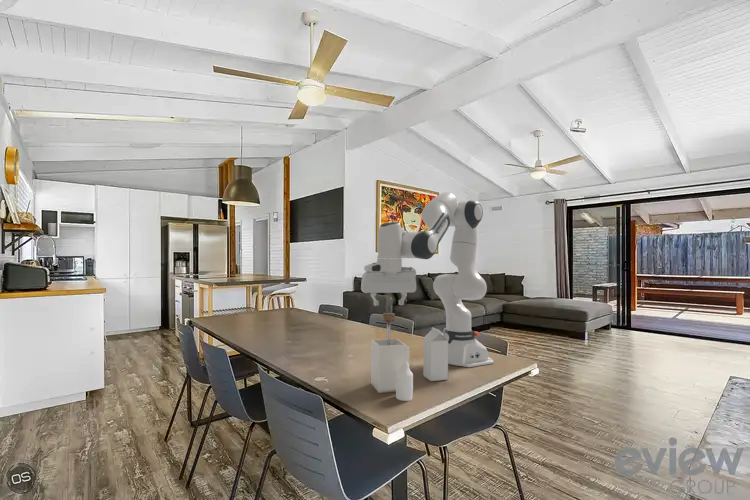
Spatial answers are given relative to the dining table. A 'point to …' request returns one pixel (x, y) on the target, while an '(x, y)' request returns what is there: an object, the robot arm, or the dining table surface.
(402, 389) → the white bottle
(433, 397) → the dining table surface
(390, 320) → the plunger
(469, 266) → the robot arm
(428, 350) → the milk carton
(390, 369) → the open-top square canister
